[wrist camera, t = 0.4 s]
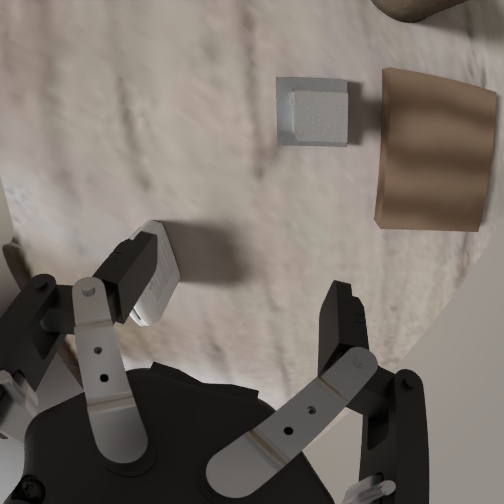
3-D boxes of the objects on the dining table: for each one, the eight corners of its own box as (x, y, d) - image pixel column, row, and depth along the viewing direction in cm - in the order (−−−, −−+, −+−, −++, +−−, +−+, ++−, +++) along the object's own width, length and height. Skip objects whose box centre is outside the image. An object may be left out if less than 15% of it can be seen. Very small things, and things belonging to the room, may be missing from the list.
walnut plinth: (382, 69, 31) (390, 67, 29) (484, 91, 30) (496, 92, 27) (374, 219, 41) (380, 228, 38) (468, 223, 39) (478, 231, 37)
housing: (275, 78, 33) (275, 71, 24) (343, 80, 33) (367, 76, 23) (277, 142, 37) (277, 159, 27) (342, 143, 36) (365, 162, 27)
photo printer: (136, 222, 44) (96, 265, 33) (163, 216, 43) (126, 260, 32) (159, 282, 48) (130, 335, 37) (184, 278, 48) (159, 333, 37)
